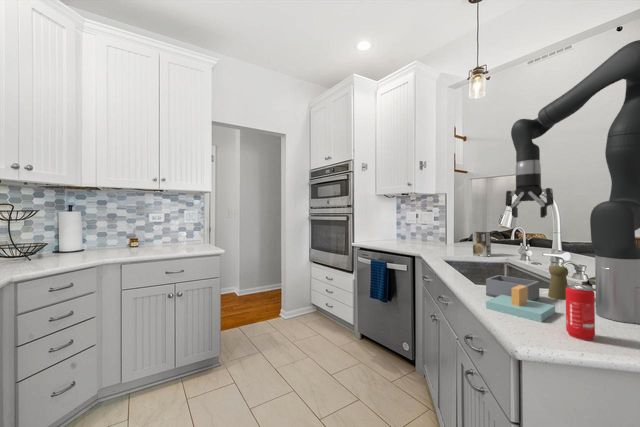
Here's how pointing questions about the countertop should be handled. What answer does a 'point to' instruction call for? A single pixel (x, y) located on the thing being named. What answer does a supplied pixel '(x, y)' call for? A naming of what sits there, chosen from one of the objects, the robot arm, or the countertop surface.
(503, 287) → the tub
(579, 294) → the beverage can
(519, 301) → the lid
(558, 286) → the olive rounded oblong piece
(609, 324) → the countertop surface
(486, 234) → the coffee box
